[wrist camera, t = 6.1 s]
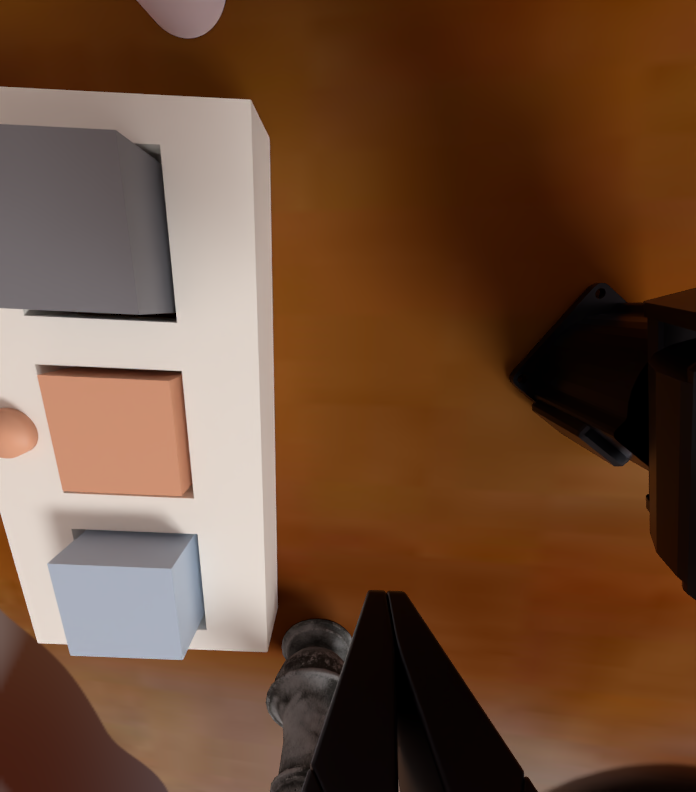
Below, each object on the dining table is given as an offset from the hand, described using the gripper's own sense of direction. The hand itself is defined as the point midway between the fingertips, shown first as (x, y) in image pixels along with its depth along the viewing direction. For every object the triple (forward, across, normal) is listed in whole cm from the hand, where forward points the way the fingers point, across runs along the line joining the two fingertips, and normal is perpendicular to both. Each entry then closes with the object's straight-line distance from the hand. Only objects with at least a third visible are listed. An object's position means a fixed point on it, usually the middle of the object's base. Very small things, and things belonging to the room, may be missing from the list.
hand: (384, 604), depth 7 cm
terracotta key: (+12, +12, 0) cm, 17 cm away
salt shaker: (+12, +2, +18) cm, 22 cm away
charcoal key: (+10, +12, -9) cm, 18 cm away
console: (+12, +12, 0) cm, 17 cm away
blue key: (+10, +12, +9) cm, 18 cm away
